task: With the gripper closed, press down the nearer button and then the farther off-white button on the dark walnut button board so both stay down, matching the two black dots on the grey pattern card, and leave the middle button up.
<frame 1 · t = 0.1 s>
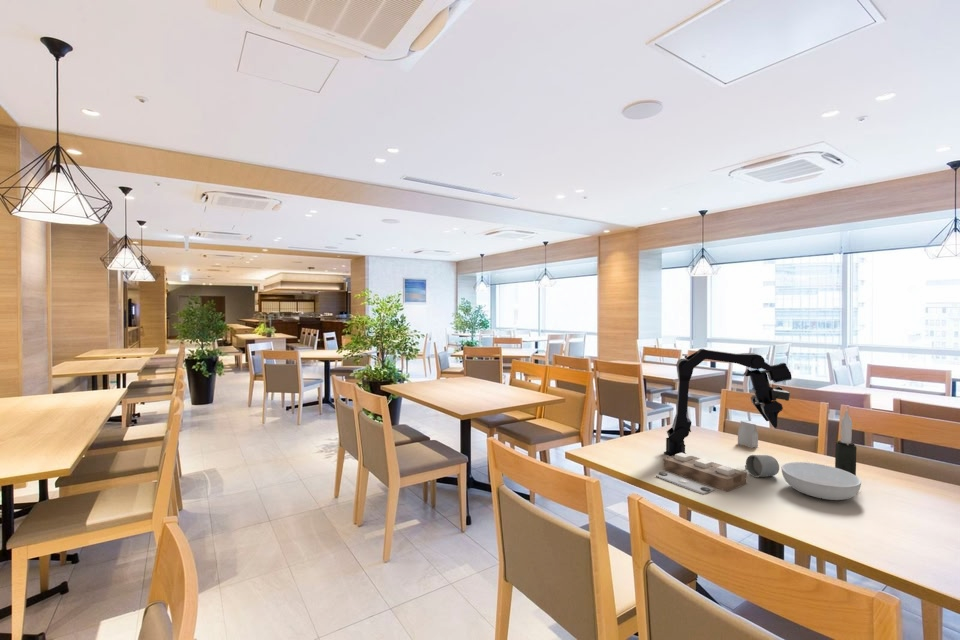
hand: (771, 423, 174), 15 cm above the table, tool pointing down, fingers open, 9 cm apart
button 1: (682, 458, 168), point 4 cm above the table, slide at 0.0 cm
grey angular block: (747, 445, 197), on the table
button 2: (725, 472, 154), point 4 cm above the table, slide at 0.0 cm
pattern card: (683, 483, 155), on the table
button board: (703, 476, 161), on the table
serving bowl: (819, 494, 146), on the table
middle button: (703, 465, 161), point 4 cm above the table, slide at 0.0 cm
ceramic mug: (758, 475, 163), on the table
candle: (845, 480, 157), on the table
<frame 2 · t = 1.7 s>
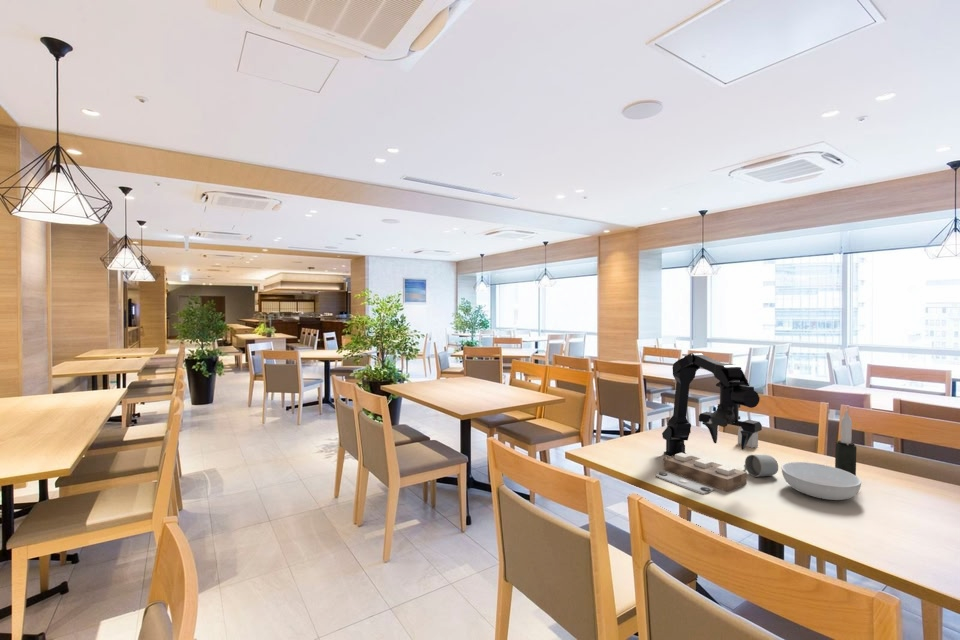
hand: (728, 446, 154), 13 cm above the table, tool pointing down, fingers open, 9 cm apart
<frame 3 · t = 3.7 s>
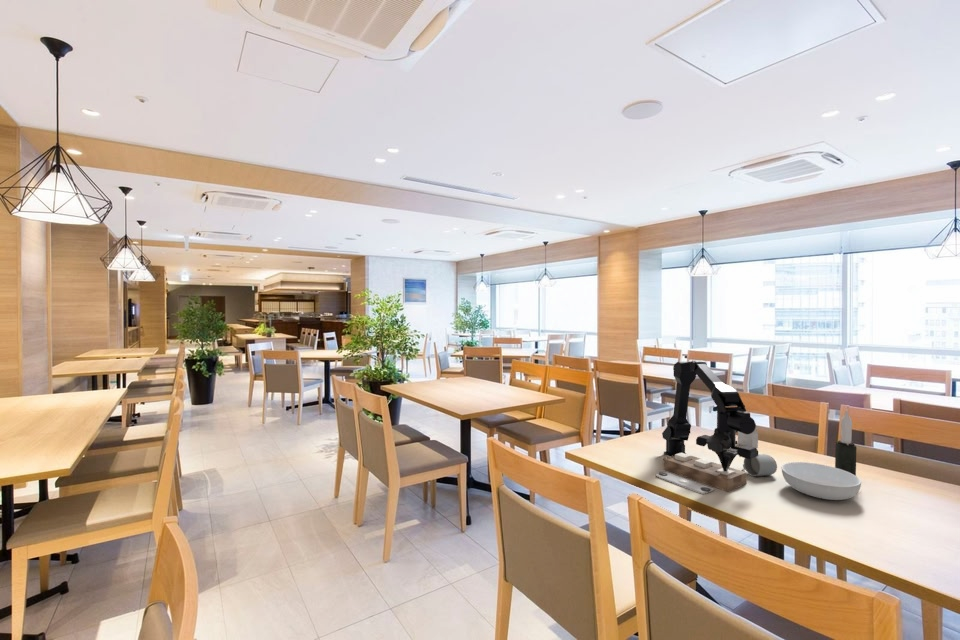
hand: (725, 470, 154), 5 cm above the table, tool pointing down, fingers closed, pressing on button 2
button 2: (725, 474, 154), point 3 cm above the table, slide at 1.0 cm, touching gripper
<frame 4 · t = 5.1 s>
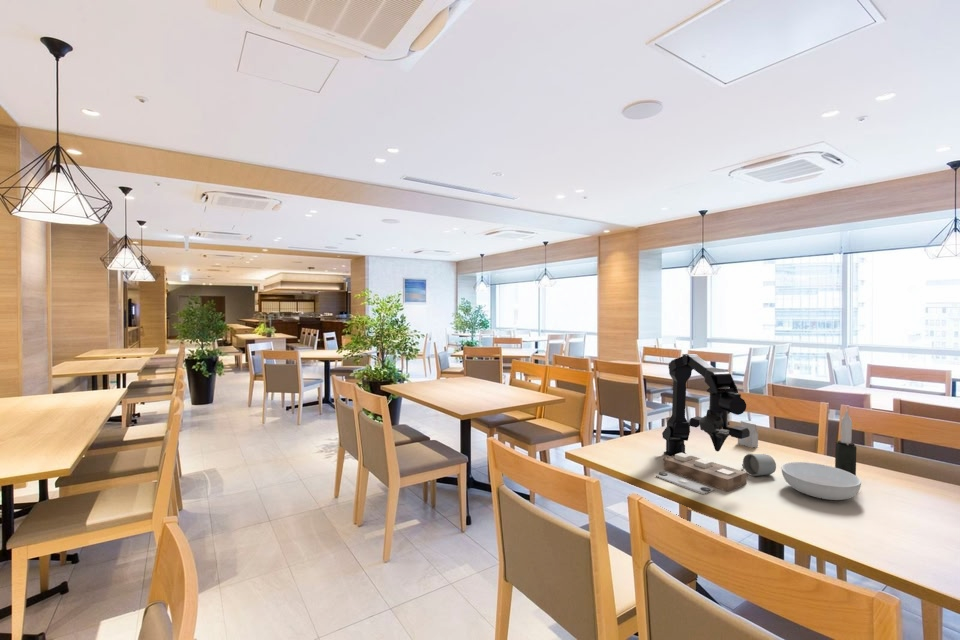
hand: (717, 451, 157), 11 cm above the table, tool pointing down, fingers closed
button 2: (725, 475, 154), point 3 cm above the table, slide at 1.2 cm
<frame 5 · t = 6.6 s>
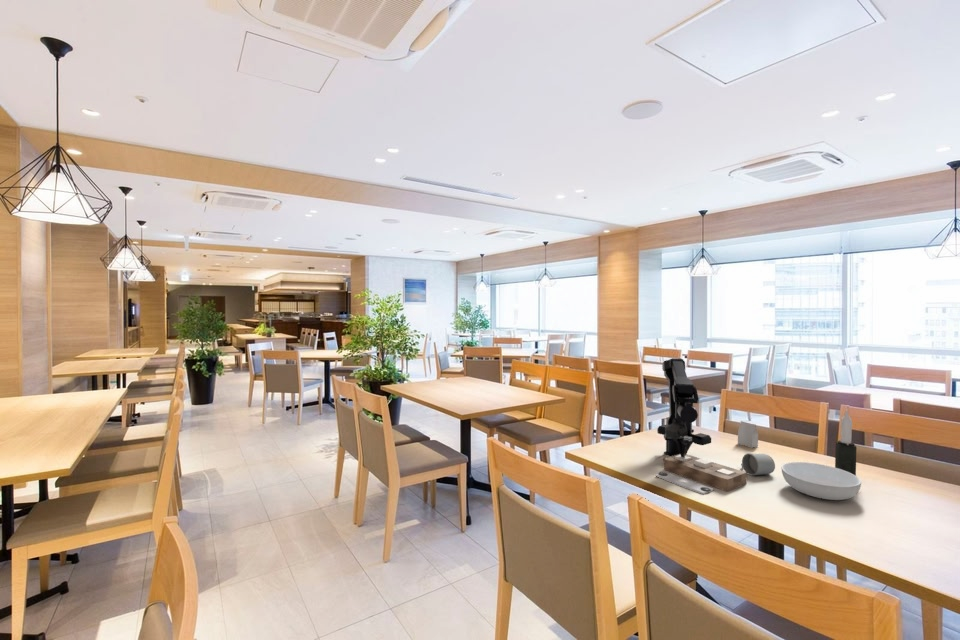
hand: (682, 456, 168), 5 cm above the table, tool pointing down, fingers closed, pressing on button 1
button 1: (682, 460, 168), point 3 cm above the table, slide at 0.8 cm, touching gripper
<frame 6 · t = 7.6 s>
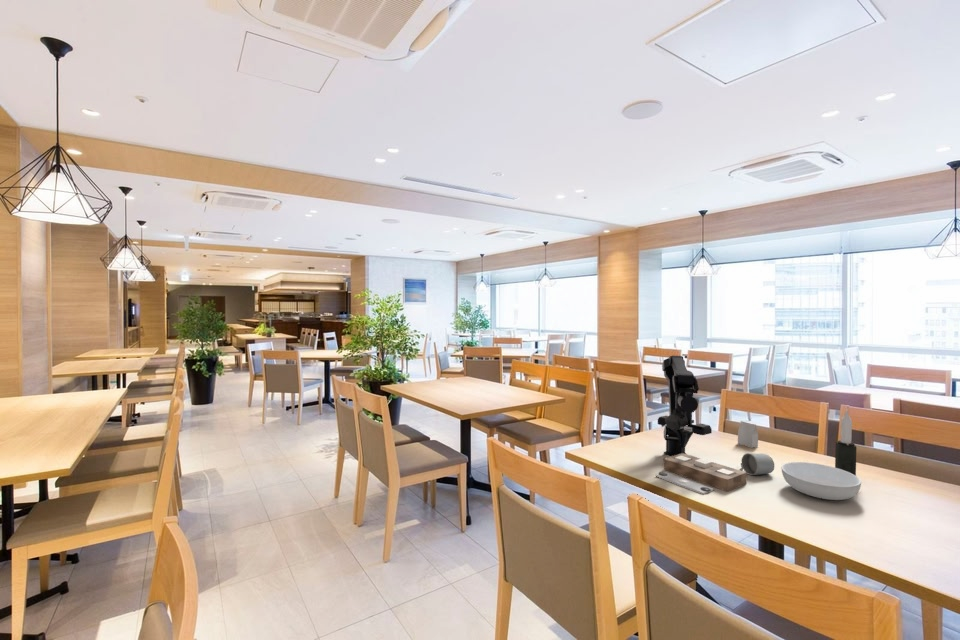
hand: (683, 447, 167), 8 cm above the table, tool pointing down, fingers closed
button 1: (682, 462, 168), point 3 cm above the table, slide at 1.2 cm
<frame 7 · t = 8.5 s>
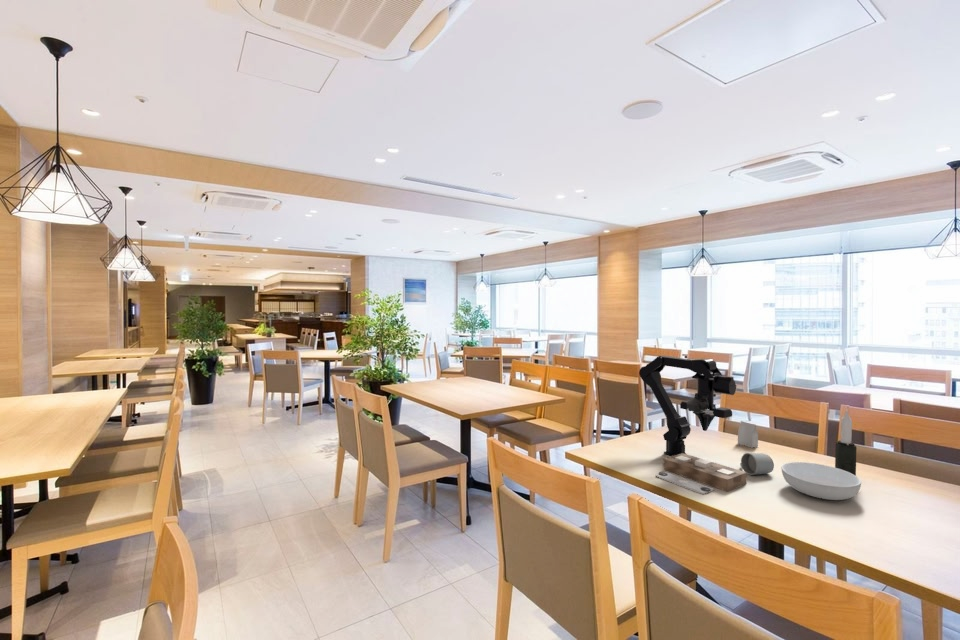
hand: (704, 430, 175), 13 cm above the table, tool pointing down, fingers closed
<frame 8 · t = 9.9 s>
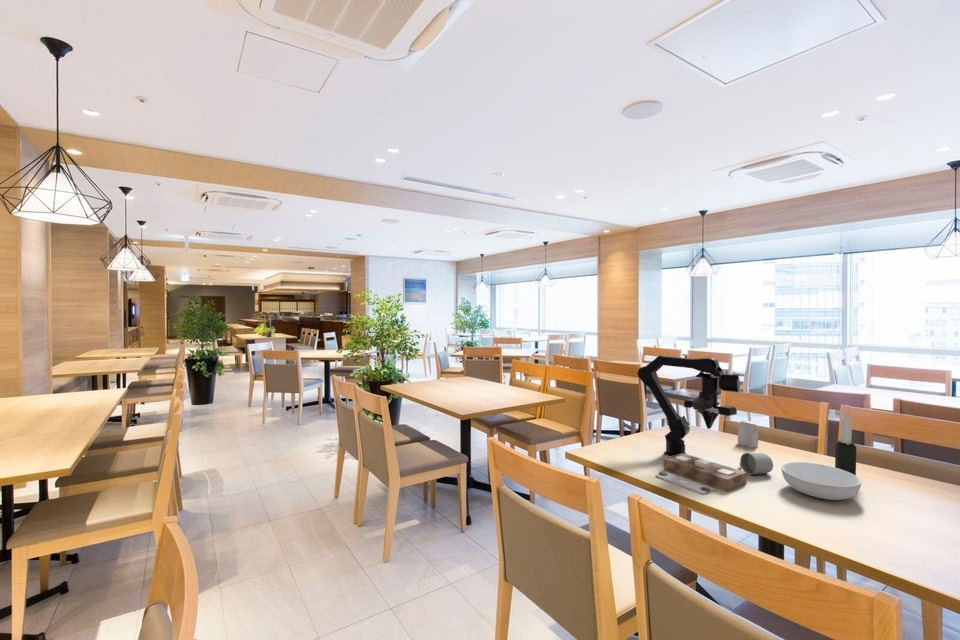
hand: (708, 428, 176), 13 cm above the table, tool pointing down, fingers closed
at the end: button 2 slide at 1.2 cm; button 1 slide at 1.2 cm; middle button slide at 0.0 cm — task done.
